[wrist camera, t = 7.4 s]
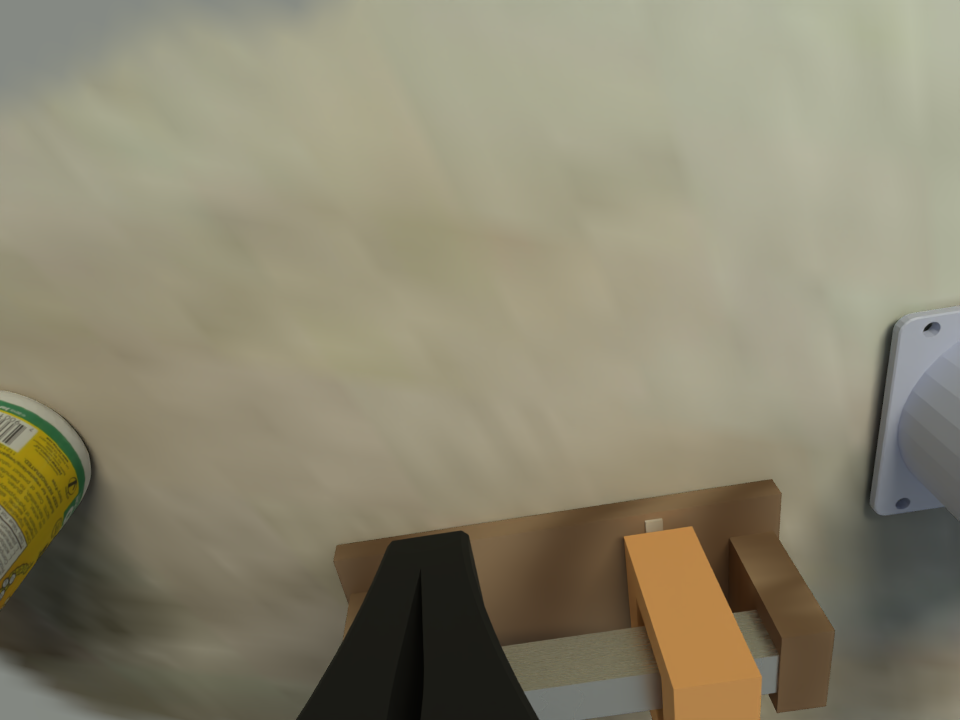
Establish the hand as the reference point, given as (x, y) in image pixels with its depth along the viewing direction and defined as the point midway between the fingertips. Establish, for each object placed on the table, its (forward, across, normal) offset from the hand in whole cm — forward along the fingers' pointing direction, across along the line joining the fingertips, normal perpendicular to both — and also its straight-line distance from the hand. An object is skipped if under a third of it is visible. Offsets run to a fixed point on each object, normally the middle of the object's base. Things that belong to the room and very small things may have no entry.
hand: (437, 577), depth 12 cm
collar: (+9, -6, +11) cm, 16 cm away
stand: (+10, -2, +12) cm, 16 cm away
